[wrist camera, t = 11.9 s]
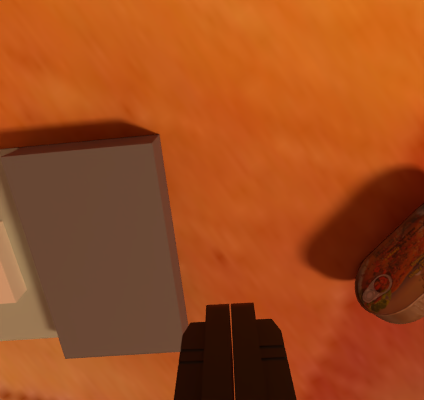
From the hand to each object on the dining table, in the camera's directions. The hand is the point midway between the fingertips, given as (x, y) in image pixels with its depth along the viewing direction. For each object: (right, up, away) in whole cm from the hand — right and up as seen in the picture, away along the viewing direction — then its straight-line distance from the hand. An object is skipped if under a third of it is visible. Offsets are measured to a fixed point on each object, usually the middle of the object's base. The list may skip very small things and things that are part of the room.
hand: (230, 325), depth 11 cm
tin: (+20, 0, +28) cm, 34 cm away
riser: (-12, -1, +28) cm, 31 cm away
